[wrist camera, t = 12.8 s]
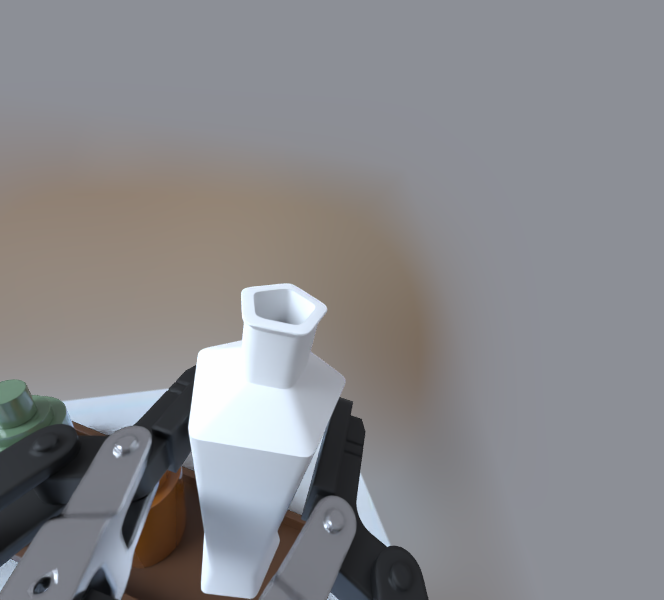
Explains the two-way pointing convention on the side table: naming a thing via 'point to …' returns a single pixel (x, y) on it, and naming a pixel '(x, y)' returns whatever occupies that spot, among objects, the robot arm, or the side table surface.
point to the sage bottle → (26, 412)
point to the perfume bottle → (257, 432)
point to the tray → (190, 553)
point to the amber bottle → (163, 522)
